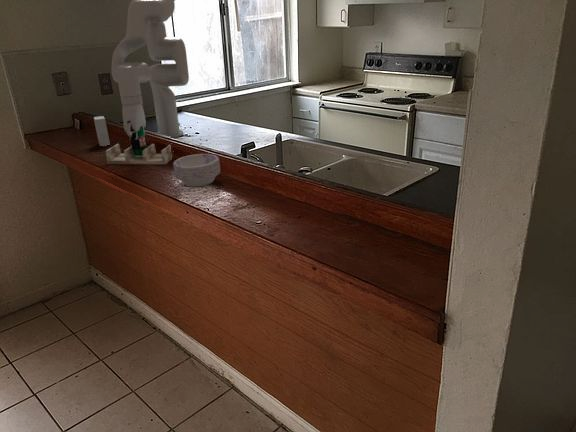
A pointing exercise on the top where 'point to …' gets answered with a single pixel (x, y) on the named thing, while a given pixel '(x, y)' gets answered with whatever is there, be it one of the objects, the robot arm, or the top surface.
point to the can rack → (129, 157)
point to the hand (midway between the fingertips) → (139, 147)
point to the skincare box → (101, 131)
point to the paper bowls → (197, 169)
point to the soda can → (142, 142)
